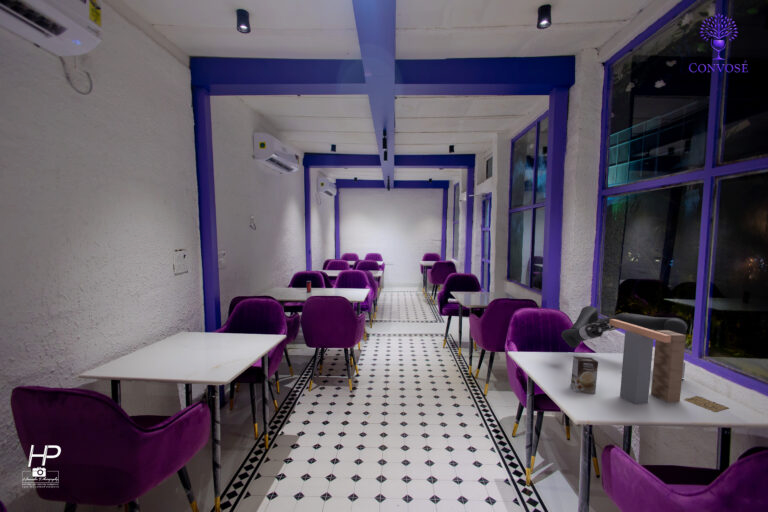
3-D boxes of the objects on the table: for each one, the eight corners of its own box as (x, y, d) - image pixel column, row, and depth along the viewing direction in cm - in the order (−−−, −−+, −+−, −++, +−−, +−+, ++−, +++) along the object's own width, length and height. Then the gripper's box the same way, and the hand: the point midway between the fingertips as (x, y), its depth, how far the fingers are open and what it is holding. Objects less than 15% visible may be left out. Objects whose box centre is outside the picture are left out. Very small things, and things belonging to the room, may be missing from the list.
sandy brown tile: (682, 400, 157) (682, 398, 157) (697, 396, 162) (697, 395, 162) (715, 413, 146) (715, 411, 146) (729, 409, 151) (730, 407, 150)
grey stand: (619, 395, 159) (625, 331, 157) (632, 395, 160) (637, 330, 158) (635, 404, 151) (641, 336, 149) (647, 403, 152) (653, 335, 150)
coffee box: (576, 392, 161) (578, 360, 160) (570, 386, 167) (572, 355, 166) (596, 394, 160) (598, 362, 159) (589, 388, 166) (591, 357, 165)
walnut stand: (650, 394, 162) (656, 330, 160) (662, 393, 163) (668, 330, 161) (667, 402, 154) (673, 335, 152) (679, 401, 155) (685, 335, 154)
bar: (609, 324, 168) (609, 319, 168) (614, 324, 169) (614, 319, 168) (664, 342, 141) (665, 335, 140) (670, 342, 141) (671, 335, 141)
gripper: (604, 338, 180) (628, 330, 166) (581, 338, 178) (604, 331, 164) (599, 324, 184) (622, 316, 169) (577, 325, 181) (599, 316, 167)
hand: (613, 323), depth 166 cm, fingers open, 8 cm apart
